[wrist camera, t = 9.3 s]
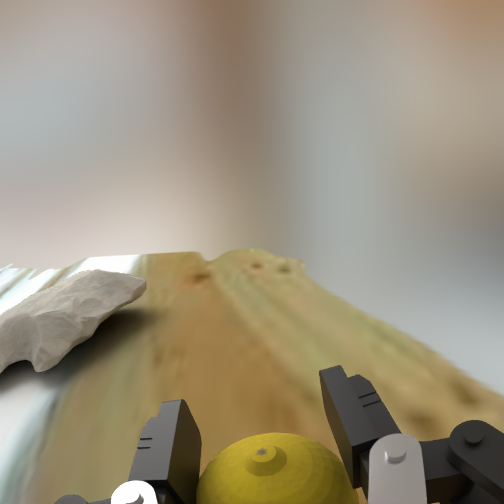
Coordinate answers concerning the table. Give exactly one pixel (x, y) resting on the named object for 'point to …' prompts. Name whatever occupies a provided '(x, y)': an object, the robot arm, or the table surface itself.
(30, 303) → the rock
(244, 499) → the lemon
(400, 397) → the table surface
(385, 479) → the robot arm
